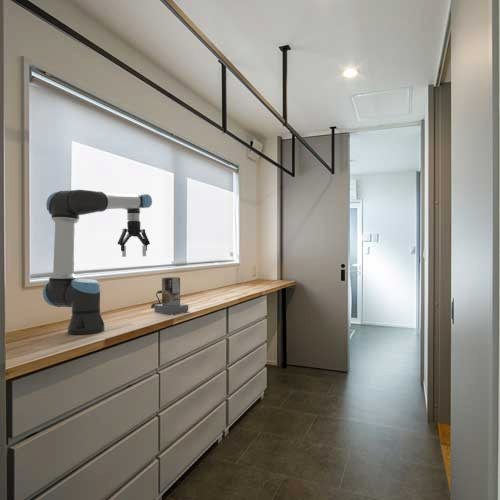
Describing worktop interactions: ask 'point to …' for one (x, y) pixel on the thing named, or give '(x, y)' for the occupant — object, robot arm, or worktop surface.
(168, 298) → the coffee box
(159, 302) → the clothes iron
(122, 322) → the worktop surface
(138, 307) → the worktop surface
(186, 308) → the plinth
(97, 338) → the worktop surface
